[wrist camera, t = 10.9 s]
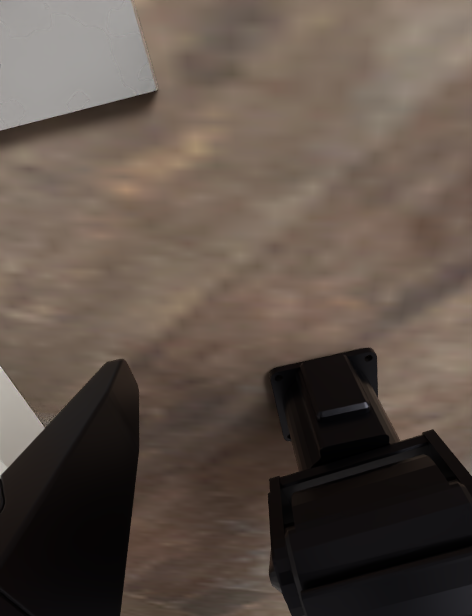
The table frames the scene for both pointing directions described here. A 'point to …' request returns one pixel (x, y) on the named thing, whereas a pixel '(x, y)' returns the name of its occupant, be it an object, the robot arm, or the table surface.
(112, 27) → the stud plate
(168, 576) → the table surface
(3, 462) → the bin
